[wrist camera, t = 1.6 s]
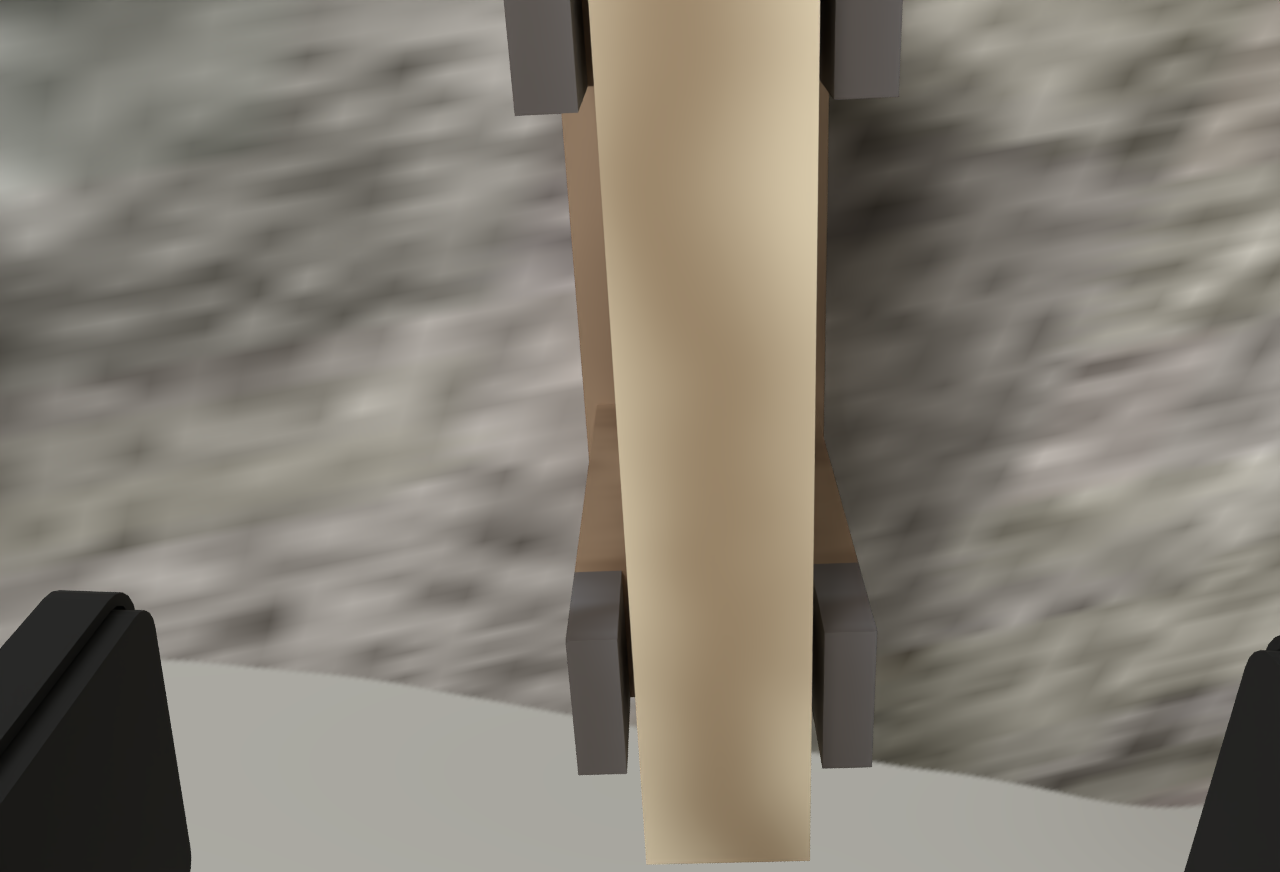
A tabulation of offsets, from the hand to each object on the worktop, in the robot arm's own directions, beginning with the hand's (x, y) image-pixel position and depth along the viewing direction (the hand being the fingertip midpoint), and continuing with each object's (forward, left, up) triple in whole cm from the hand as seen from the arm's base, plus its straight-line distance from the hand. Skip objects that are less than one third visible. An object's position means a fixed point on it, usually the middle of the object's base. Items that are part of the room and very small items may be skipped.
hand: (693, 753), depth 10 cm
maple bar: (-1, +3, -18) cm, 18 cm away
